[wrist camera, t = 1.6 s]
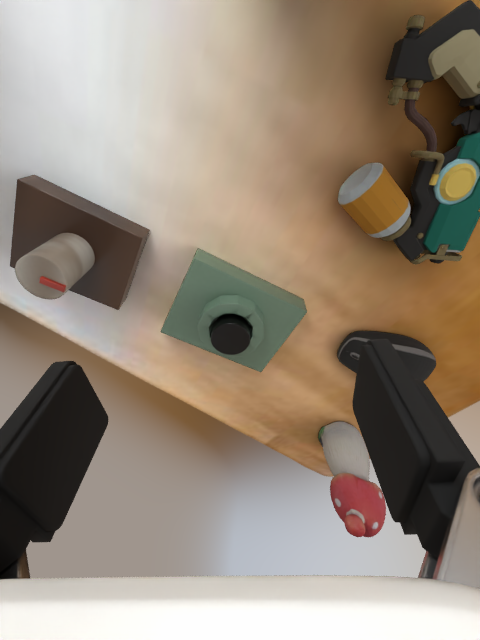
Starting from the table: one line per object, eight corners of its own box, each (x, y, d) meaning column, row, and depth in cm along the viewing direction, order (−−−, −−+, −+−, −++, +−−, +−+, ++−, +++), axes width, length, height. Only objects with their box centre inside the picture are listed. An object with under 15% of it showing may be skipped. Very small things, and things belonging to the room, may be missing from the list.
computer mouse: (353, 320, 36) (364, 341, 32) (442, 345, 37) (461, 367, 34) (327, 362, 39) (334, 385, 36) (409, 383, 41) (423, 406, 38)
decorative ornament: (311, 419, 46) (335, 531, 33) (355, 410, 44) (397, 523, 32) (324, 453, 51) (348, 562, 38) (363, 445, 49) (403, 556, 37)
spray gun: (416, -17, 21) (568, 81, 24) (305, 216, 29) (431, 267, 32) (455, -50, 17) (630, 71, 20) (316, 228, 25) (457, 284, 28)
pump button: (206, 336, 32) (204, 346, 31) (222, 308, 30) (220, 317, 29) (239, 349, 33) (238, 360, 32) (256, 323, 31) (257, 333, 30)
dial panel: (25, 256, 32) (9, 266, 30) (34, 174, 27) (17, 178, 25) (126, 298, 35) (118, 310, 33) (149, 229, 30) (142, 238, 28)
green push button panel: (165, 318, 36) (156, 342, 32) (197, 247, 31) (191, 265, 27) (260, 357, 39) (261, 383, 35) (303, 299, 34) (310, 321, 30)
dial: (49, 261, 29) (10, 289, 25) (55, 224, 27) (14, 247, 23) (90, 278, 30) (60, 308, 26) (99, 244, 28) (68, 270, 24)
